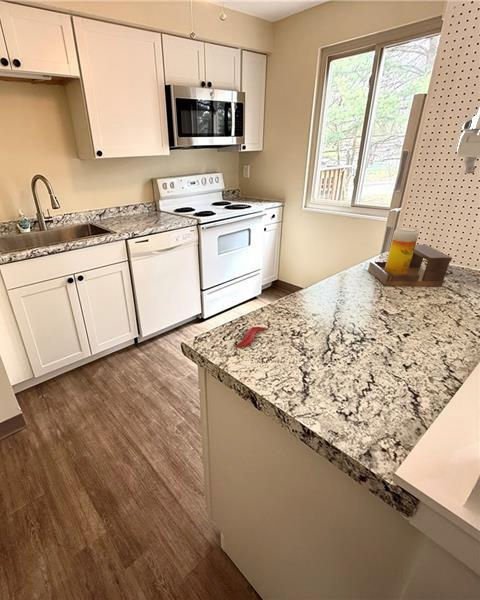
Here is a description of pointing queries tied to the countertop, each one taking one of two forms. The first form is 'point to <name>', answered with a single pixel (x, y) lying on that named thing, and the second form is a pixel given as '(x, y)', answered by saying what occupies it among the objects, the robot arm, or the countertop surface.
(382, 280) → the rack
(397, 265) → the beer can
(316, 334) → the countertop surface
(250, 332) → the cayenne pepper
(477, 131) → the robot arm
